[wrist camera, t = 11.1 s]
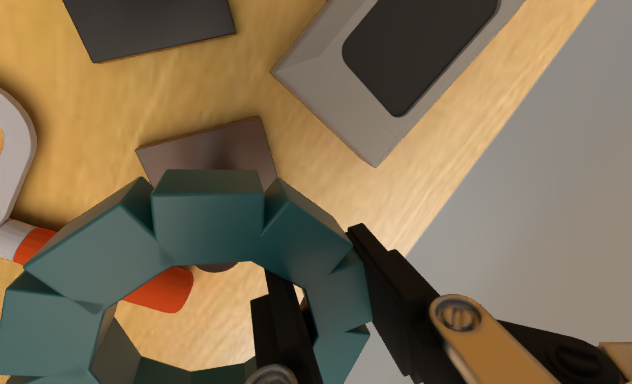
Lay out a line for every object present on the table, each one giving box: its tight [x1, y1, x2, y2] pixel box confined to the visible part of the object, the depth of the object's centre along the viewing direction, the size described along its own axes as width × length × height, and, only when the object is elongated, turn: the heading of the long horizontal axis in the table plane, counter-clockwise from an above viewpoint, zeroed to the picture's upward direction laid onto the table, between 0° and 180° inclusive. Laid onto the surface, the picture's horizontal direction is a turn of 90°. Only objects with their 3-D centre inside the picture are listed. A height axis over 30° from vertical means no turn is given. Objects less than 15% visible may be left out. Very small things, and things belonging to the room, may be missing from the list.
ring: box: [0, 169, 373, 384], centre depth 10 cm, size 10×10×2 cm
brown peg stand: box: [135, 116, 277, 273], centre depth 18 cm, size 8×8×9 cm
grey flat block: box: [270, 0, 525, 168], centre depth 19 cm, size 10×4×15 cm
